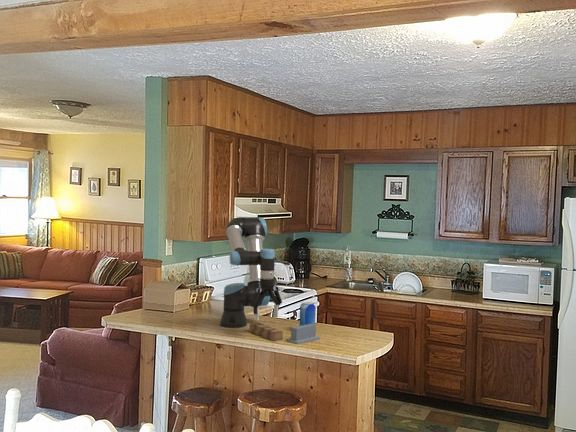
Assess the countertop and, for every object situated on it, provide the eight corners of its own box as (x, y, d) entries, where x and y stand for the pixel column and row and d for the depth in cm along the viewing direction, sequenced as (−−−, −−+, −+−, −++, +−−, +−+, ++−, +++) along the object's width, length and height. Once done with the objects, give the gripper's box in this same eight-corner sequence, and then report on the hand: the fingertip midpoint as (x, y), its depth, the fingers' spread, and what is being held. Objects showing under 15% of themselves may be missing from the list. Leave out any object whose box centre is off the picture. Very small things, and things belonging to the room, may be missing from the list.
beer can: (305, 329, 329) (306, 300, 328) (317, 331, 323) (318, 302, 323) (296, 331, 322) (297, 302, 322) (308, 334, 317) (309, 304, 316)
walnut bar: (249, 332, 320) (249, 323, 319) (257, 331, 322) (257, 322, 322) (274, 342, 300) (274, 332, 300) (282, 340, 303) (282, 331, 303)
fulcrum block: (286, 341, 301) (287, 327, 301) (308, 336, 312) (309, 322, 312) (297, 344, 295) (298, 329, 295) (319, 339, 306) (320, 325, 306)
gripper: (253, 280, 299) (252, 322, 299) (289, 277, 316) (288, 316, 316) (244, 279, 304) (243, 320, 304) (279, 275, 321) (278, 314, 322)
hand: (266, 318), depth 310 cm, fingers open, 13 cm apart
